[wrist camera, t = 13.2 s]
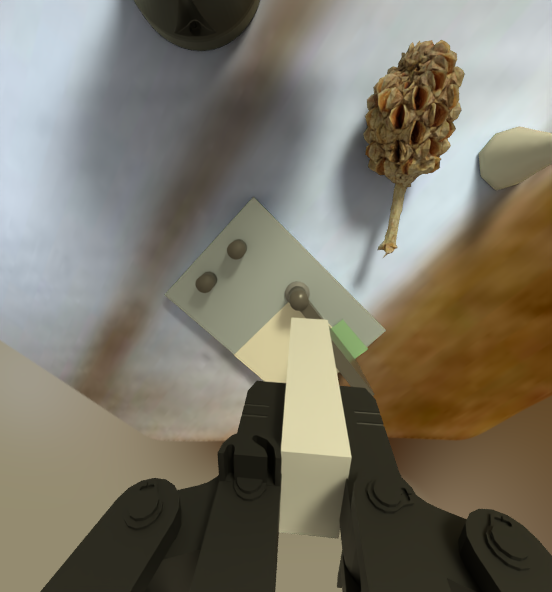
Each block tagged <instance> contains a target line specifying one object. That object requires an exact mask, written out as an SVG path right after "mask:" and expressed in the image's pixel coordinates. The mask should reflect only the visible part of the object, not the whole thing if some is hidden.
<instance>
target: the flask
mask: <svg viewBox="0 0 552 592" xmlns="http://www.w3.org/2000/svg"><path fill="white" fill-rule="evenodd" d="M479 164H480V174H481V177H482V178H483V179H484V180H485V181H486V182H487V183H488V184H489V185H490V186H491V187H492V188H494V189H495V190H500V189H503V188H506V187H510V186H513V185H517V184H519V183H521V182H523V181H524V180H526V179H527V178H529V177H530V176H532V175H534V174H535V173H537V172H539V171H540V170H542V169H544V168H546V167H547V166H549V165H551V164H552V133H548V132H542V131H537V130H533V129H528V128H524V127H516V128H512V129H509V130H506V131H503V132H499V133H496V134H495V135H494V136H493V137H492V138H491V140H490V141H489V142H488V143H487V144H486V145H485V147H484V148H483V149H482V150H481V151H480V152H479Z"/></svg>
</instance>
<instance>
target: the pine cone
mask: <svg viewBox="0 0 552 592" xmlns="http://www.w3.org/2000/svg"><path fill="white" fill-rule="evenodd" d="M456 61H457V53H455V52H453V51H451V50H450V45H449V44H448V43H446V42H445V41H443V40H441V41H439V42H438V43H436V44H435V45H434V44H433V42H432V40H431V41H425V42H422V43H420V41H419V42H418V43H417V45H416V46H415V47H414V44H413V42H412V43H411V44H410V46H409V49H408V51H407V52H406V54H405V53H402V58H401V60H400V61H399V63H398V68H397V67H394V66H393V67H391V68H390V69H388V72H387V75H385V77H383V78H380V79H379V82H378V83H377V84H376V85H375V86H374V87H373V88H374V94H373V95H371V96H370V97H369V98H368V99H367V108H368V110H369V112H368V113H367V114H366V115H365V118H366V122H367V126H368V128H367V129H366V131H365V132H364V134H363V135H364V139H365V140H366V141H367V143H369V145H368V146H367V147H366V153H365V155H367V156H368V157H369V158H370V160H369V164H368V167H369V168H370V169H371V170H372V171H375V172H376V173H378V174H379V175H385V176H386V177H387V178H388V179H390V180H391V181H392V182H393V183H395V187H394V193H393V202H392V206H391V213H390V218H389V225H388V229H387V232H386V235H385V240H384V241H383V242H382V244H381V245H380V246H379V247H378V250H384V251H385V252H386V254H385V255H384V257H385V256H386V255H387V254H390V253H392V252H393V251H394V249H396V248H398V247H397V246H396V237H397V231H398V224H399V219H400V214H401V212H402V206H403V200H404V194H405V192H406V189H407V187H411V183H412V182H413V181H414V180H415V179H416V178H417V177H418V176H419V175H421V174H428V173H433V172H434V171H436V170H437V169H439V168H440V160H441V158H439V157H440V155H442V154H444V153H445V152H446V151H447V150H448V149H449V148H450V143H449V142H448V139H447V138H449V137H450V136H451V135H452V133H453V132H454V131H455V129H456V128H455V126H454V124H453V123H452V122H453V121H454V120H456V119H457V118H458V116H459V114H460V112H461V107H460V104H459V103H458V101H459V87H460V86H461V84H462V81H463V77H464V72H463V70H462V69H460V68H459V67H455V63H456ZM384 257H383V258H384Z"/></svg>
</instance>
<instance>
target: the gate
mask: <svg viewBox="0 0 552 592" xmlns="http://www.w3.org/2000/svg"><path fill="white" fill-rule="evenodd" d="M289 300H290V305H291V307H292V308H293V309H294V310H296V311H300V312H301V313H302V314H303V315H304V317H305V318H306V319H323V317H322V316H321V315H320V313H319V312H318V311H317V309H316V308H315V307H314V306H313V304H312V303H311V302H310V300H309V299H308V296H307V293H306V291H305V289H304V288H303V287H301V286H295V287H293V288H291V290H290V291H289ZM323 320H324V319H323ZM329 330H330V336H331V342H332V348H333V353H334V359H335V365H336V368H337V369H338V371H339V372H340V373H341V374H342V376H343V377H344V378H345V379H346V381H347V382H348V383H349V384H350V386H351V387H360V388H366V389H367V390H368V392H369V393H370V394H371V395H372V396H373V395H374V393H373V391H372V389H371V387H370V385H369V383H368V381H367V380H366V378H365V376H364V374H363V372H362V370H361V368H360V366H359V365H358V363H357V361H356V360H355V359H354V357H353V356H352V355H351V353H350V352H349V351H348V350H347V348H346V347H345V346H344V344H343V343H342V342H341V341H340V339H339V338H338V337H337V335H336V334H335V333H334V331H333V330H332V329H331V328H330V326H329Z"/></svg>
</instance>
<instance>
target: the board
mask: <svg viewBox="0 0 552 592" xmlns="http://www.w3.org/2000/svg"><path fill="white" fill-rule="evenodd" d="M295 286H301V287H303V288H304V289H305V291H306V293H307V296H308V299H309V300H310V302H311V303H312V304H313V306H314V307H315V308H316V309H317V311H318V312H319V313H320V315H321V316H322V317H323V319H324V320H328V325H329V326H330V328H331V329H332V330H333V331H334V333H335V334H336V335H337V337H338V338H339V339H340V341H341V342H342V343H343V344H344V346H345V347H346V348H347V350H348V351H349V352H350V353H351V355H352V356H353V357H354V359H355V358H357V357H358V356H359V355H361V354H362V353H363V352H365V351H366V350H367V349H368V348H367V346H369V345H370V344H371V343H372V342H373V341H374V340H375V339H377V338H378V337H379V336H380V335H381V334H382V333H384V332H385V331H386V330H385V329H384V328H383V327H382V326H381V325H380V324H379V323H378V322H377V321H376V320H375V319H374V318H373V317H372V316H371V315H370V313H369V312H368V311H367V310H366V309H365V308H364V307H363V306H362V305H361V304H360V303H359V302H358V301H357V300H356V299H355V298H354V297H353V296H352V295H351V294H350V293H349V292H348V291H347V290H346V289H345V288H344V287H343V286H342V285H341V284H340V283H339V282H338V281H337V280H336V279H335V278H334V277H333V276H332V275H331V274H330V273H329V272H328V271H327V270H326V269H325V268H324V267H323V266H322V265H321V264H320V263H319V262H318V261H317V260H316V259H315V258H314V257H313V256H312V255H311V254H310V253H309V252H308V251H307V250H306V249H305V248H304V247H303V246H302V245H301V244H300V243H299V242H298V241H297V240H296V239H295V238H294V237H293V236H292V235H291V234H290V233H289V232H288V231H287V230H286V229H285V228H284V227H283V226H282V225H281V224H280V223H279V222H278V221H277V220H276V219H275V218H274V217H273V216H272V215H271V214H270V213H269V212H268V211H267V210H266V209H265V208H264V207H263V206H262V205H261V204H260V203H259V202H258V201H257V200H256V199H255V198H254V197H253V198H252V199H251V200H250V201H249V202H248V203H247V204H246V206H245V207H244V208H243V209H242V210H241V211H240V212H239V213H238V214H237V215H236V217H235V218H234V219H233V220H232V221H231V222H230V223H229V224H228V225H227V227H226V228H225V229H224V230H223V231H222V232H221V233H220V234H219V235H218V236H217V238H216V239H215V240H214V241H213V242H212V243H211V244H210V245H209V246H208V247H207V249H206V250H205V251H204V252H203V253H202V254H201V255H200V256H199V257H198V258H197V260H196V261H195V262H194V263H193V264H192V265H191V266H190V267H189V268H188V270H187V271H186V272H185V273H184V274H183V275H182V276H181V277H180V278H179V279H178V281H177V282H176V283H175V284H174V285H173V286H172V287H171V288H170V289H169V290H168V292H167V293H166V294H165V296H166V297H167V298H169V299H170V300H171V301H172V302H173V303H174V304H176V305H177V306H178V307H179V308H180V309H181V310H183V311H184V312H185V313H186V314H187V315H188V316H190V317H191V318H192V319H193V320H194V321H195V322H197V323H198V324H199V325H200V326H201V327H202V328H204V329H205V330H206V331H207V332H208V333H209V334H211V335H212V336H213V337H214V338H215V339H216V340H218V341H219V342H220V343H221V344H222V345H223V346H225V347H226V348H227V349H228V350H229V351H231V352H232V353H233V354H234V356H235V357H237V358H238V359H239V360H240V361H241V362H242V363H244V364H245V365H246V366H247V367H248V368H249V369H251V370H252V371H253V372H254V373H255V374H257V375H258V376H259V377H260V378H261V379H262V380H264V381H265V382H278V383H286V380H287V367H288V355H289V342H290V329H291V318H305V317H304V315H303V314H302V313H301V312H300V311H296V310H294V309H293V308H292V307H291V305H290V300H289V291H290V290H291V288H293V287H295ZM336 371H337V373H338V372H339V371H338V369H337V368H336Z"/></svg>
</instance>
